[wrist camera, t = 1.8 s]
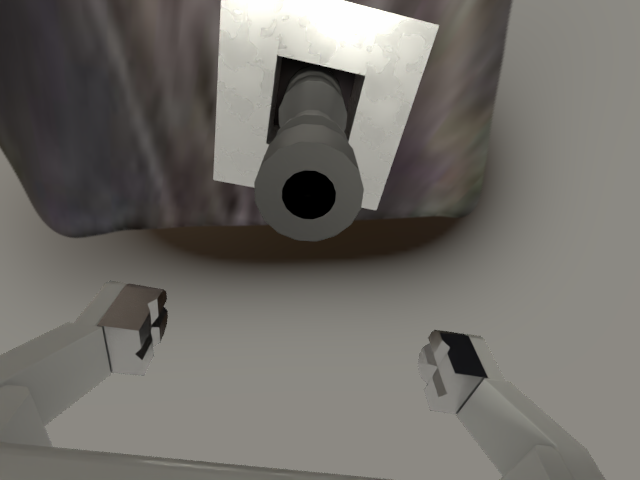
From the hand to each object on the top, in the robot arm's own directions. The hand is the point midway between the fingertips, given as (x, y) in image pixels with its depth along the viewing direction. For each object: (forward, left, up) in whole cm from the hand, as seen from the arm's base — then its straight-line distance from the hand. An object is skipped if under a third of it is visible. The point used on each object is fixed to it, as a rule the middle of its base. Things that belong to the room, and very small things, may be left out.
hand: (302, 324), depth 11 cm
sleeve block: (0, 0, -34) cm, 34 cm away
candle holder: (0, 0, -34) cm, 34 cm away
